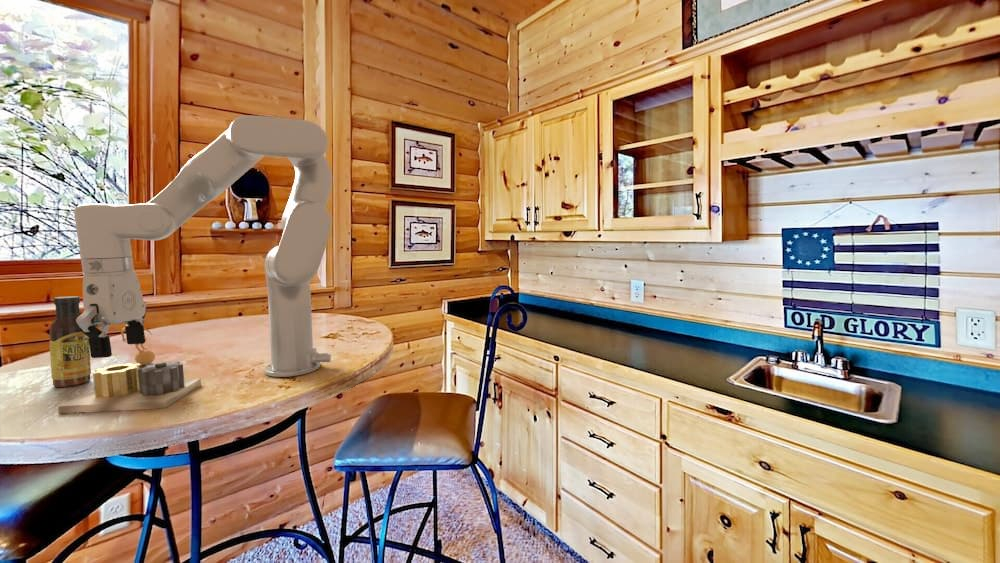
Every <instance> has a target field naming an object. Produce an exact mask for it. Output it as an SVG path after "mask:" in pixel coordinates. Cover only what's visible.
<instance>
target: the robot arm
mask: <svg viewBox="0 0 1000 563" xmlns="http://www.w3.org/2000/svg"><path fill="white" fill-rule="evenodd" d="M328 148H329V137H328V135H327V133H326V132H325V130H324V129H322V127H321V126H320V125H318V124H317V123H315V122H312V121H310V120H305V119H296V118H285V117H273V116H264V115H263V116H262V115H254V114H253V115H251V114H250V115H248V114H247V115H242V116H241V115H240V116H238V117H237V118H235V119H234V120H233V121H232V122H231V124H230V125H229V127H228V129H227V130H225V131H224V132H223V133H221V134H220V135H219V136H218V137H217V138H216V139H215V140H214V141H212V142H211V143H209V144H208V145H207V146H206V147H205V148H203V149H202V150H201V151H199V152H198V153H197V154H195V155H194V156H193V157H192V158H190V159H189V160H188V161H187V162H186V163H185V164H184V166H182V168H181V169H180V171H179V173H178V174H177V176H175V178H174V179H173V180H172V181H170V183H169V184H168V185H167V186H166V187H164V189H162V190H161V191H160V192H159V193H158V194H156V196H154V197H153V198H151V199H149V201H148V202H146V203H135V204H123V205H118V204H114V203H113V204H111V203H110V204H109V203H82V204H79V205H77V206H76V207H75V209H74V210H73V215H74V223H75V227H76V234H77V242H78V250H79V257H80V262H81V269H82V276H83V278H82V304H83V312H82V313H80V316H79V317H78V318H77V319H76V322H77V324H78V325H79V327H80V328H81V332H82V333H84V334H85V337H86V338H88V340H89V350H90V358H92V359H97V358H98V359H99V358H100V359H101V358H102V359H103V358H110V357H112V355H113V352H112V345H111V338H110V336H109V335H108V336H107V334H108V332H109V329H110V327H111V325H113V326H117V325H121V324H125V325H126V324H127V325H129V326H124V327H125V331H124V332H125V336H126V337H125V339H127V340H126V341H127V342H126V343H127V345H135V344H139V345H140V344H143V343H144V344H145V343H146V341H145V338H146V335H145V330H144V327H145V326H144V325H145V322H146V321H145V317H146V314H147V313H146V309H147V302H145V300H144V296H143V291H142V288H141V285H140V284H141V283H140V281H139V277H138V275H137V273H136V271H135V268H134V267H135V266H134V259H133V250H132V244H131V240H132V239H133V240H144V241H161V240H163V239H166V238H169V237H170V236H171V235H172V234H173V233H174V232H176V231H177V230H178V229H180V227H181V226H183V225H184V224H185V223H186V222H187V221H189V219H191V218H192V217H193V216H194V215H195V214H197V213H198V212H199V211H200V210H201V209H202V208H204V207H205V206H206V205H207V204H208V203H210V202H212V201H213V200H215V199H217V198H218V197H220V196H221V195H222V194H223V193H224V192H225V191H226V190H227V189H229V188H230V187H231V186H232V185H234V184H235V182H236V181H238V180H239V179H240V178H241V177H242V176H244V175H245V173H247V172H248V171H249V170H250V169H252V168H253V167H254V166H255V165H257V163H258V162H259V161H261V160H262V159H263V158H264V157H275V158H287V160H289V162H290V163H291V164H292V167H293V168H294V171H295V172H294V173H295V176H294V183H293V185H292V189H291V193H290V195H289V197H288V198H289V199H288V201H287V204H286V206H285V209H284V212H283V213H282V215H281V216H282V217H281V226H282V231H283V232H282V235H281V238H280V242H279V245H276V246H274V247H273V248H272V249H271V250H270V251H268V253H267V255H266V257H265V261H264V275H265V282H266V289H267V302H268V322H269V325H268V326H269V340H270V356H271V357H270V359H271V363H269V364H267V365H266V366H265V367H264V373H265V375H267V376H269V377H275V378H287V377H289V378H290V377H296V376H302V375H307V374H310V373H312V372H315V371H316V370H318V369H319V368H320V367H321V363H331V361H332V355H331V354H329V353H328V352H323V353H322V352H321V353H319V352H317V348H316V347H315V348H314V343H313V342H314V340H313V339H314V338H313V319H312V296H311V293H312V292H311V288H310V285H311V284H310V282H311V281H312V280H313V279H314V278H315V277H316V275H317V273H318V270H319V268H320V266H321V262H322V260H323V257H324V253H325V250H326V247H327V245H328V241H329V238H330V235H331V231H332V216H331V215H330V212H329V210H328V209H327V206H328V202H329V199H330V196H331V191H332V186H333V174H332V170H331V167H330V164H329V161H328V160H327V158H326V156H325V154H326V152H327V151H328ZM143 326H144V327H143ZM99 328H100V329H99ZM144 344H143V345H144Z"/></svg>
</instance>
